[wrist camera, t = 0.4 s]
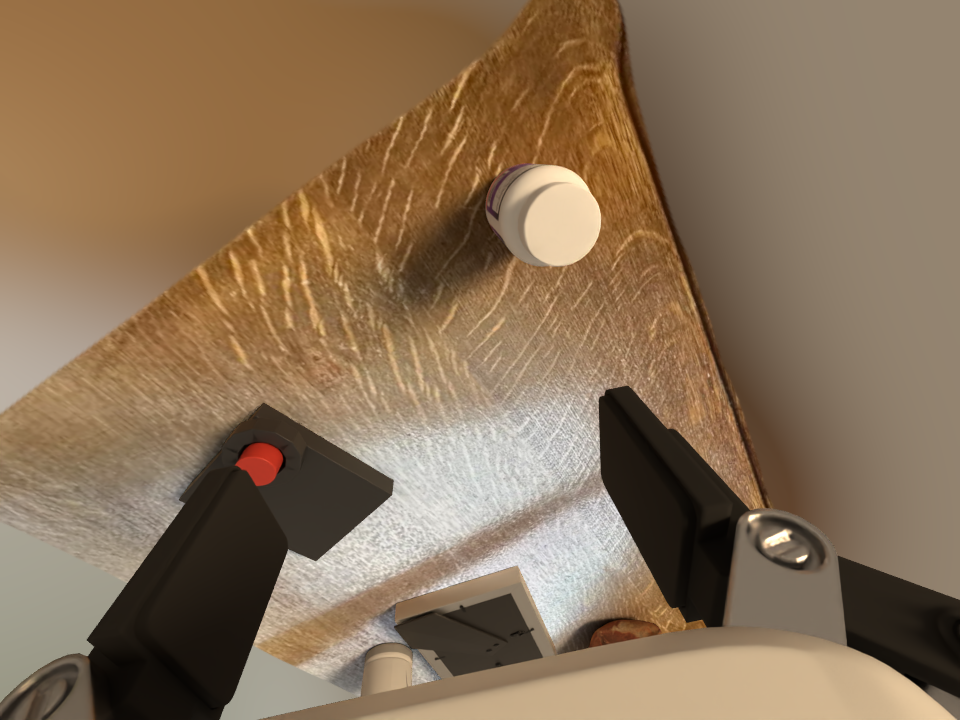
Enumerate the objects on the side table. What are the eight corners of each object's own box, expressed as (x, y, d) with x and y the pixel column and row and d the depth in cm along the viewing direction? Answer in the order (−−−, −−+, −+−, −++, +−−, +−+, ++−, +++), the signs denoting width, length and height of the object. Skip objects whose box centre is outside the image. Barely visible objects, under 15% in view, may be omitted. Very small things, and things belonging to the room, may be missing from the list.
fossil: (579, 688, 56) (618, 746, 47) (549, 639, 56) (583, 686, 47) (642, 629, 60) (692, 672, 50) (615, 582, 59) (659, 616, 50)
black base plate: (185, 481, 36) (162, 512, 33) (265, 392, 32) (248, 417, 29) (320, 545, 42) (311, 576, 39) (400, 474, 38) (397, 502, 35)
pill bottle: (564, 230, 29) (620, 263, 21) (495, 252, 29) (522, 293, 21) (551, 151, 26) (608, 151, 18) (475, 176, 27) (496, 187, 18)
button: (236, 458, 31) (226, 473, 30) (257, 435, 31) (247, 450, 29) (269, 476, 33) (262, 492, 31) (290, 454, 32) (284, 469, 30)
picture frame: (396, 603, 48) (453, 677, 58) (394, 628, 45) (454, 701, 55) (517, 565, 47) (555, 646, 57) (522, 588, 45) (560, 669, 54)
